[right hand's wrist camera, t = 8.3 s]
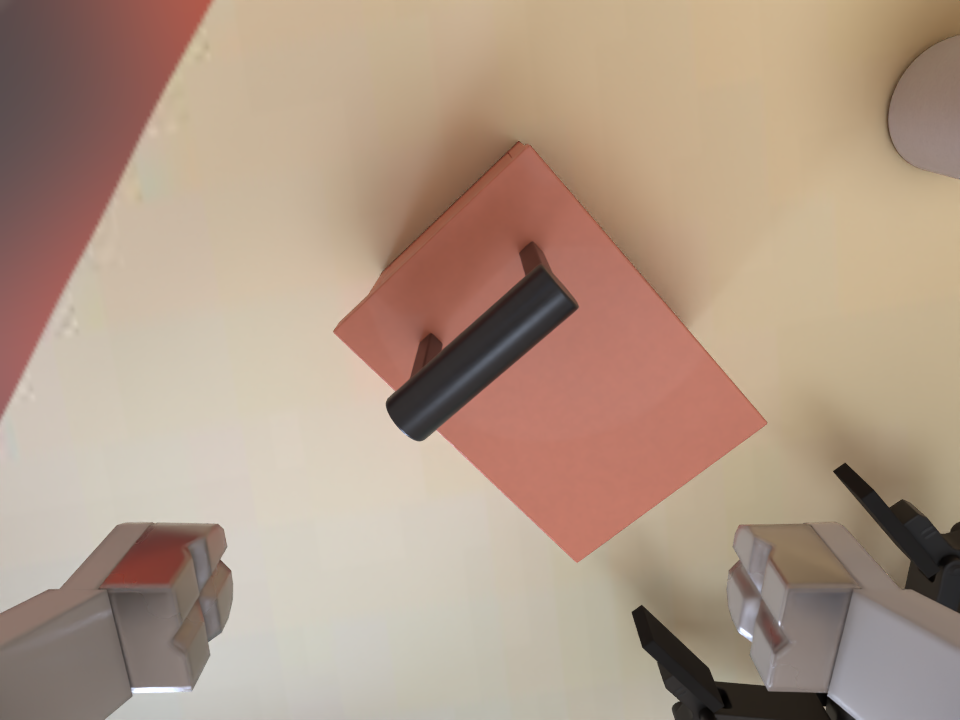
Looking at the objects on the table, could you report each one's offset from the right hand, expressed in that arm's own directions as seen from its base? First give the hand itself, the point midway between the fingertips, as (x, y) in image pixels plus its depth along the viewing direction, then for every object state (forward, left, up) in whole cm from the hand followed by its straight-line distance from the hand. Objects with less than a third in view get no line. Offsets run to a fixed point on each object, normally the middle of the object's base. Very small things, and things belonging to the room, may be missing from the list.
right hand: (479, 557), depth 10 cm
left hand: (+12, -17, -20) cm, 29 cm away
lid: (+3, -4, -17) cm, 17 cm away
